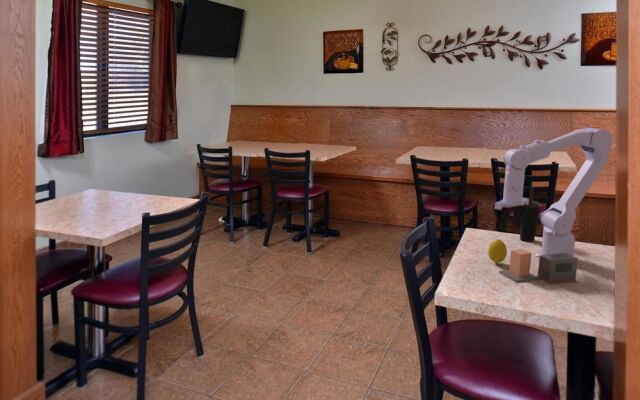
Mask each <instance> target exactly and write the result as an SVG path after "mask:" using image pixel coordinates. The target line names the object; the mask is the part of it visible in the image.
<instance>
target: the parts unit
mask: <svg viewBox="0 0 640 400" xmlns="http://www.w3.org/2000/svg"><path fill="white" fill-rule="evenodd" d="M538 258H539V259H538V260H539V261H538V269H537V275H536V276H537V277H539V280H540V281H542V282H544V283H546V284H547V285H556V284H558V285H559V284H565V283H566V284H567V283H574V282H577V281H578V279H577V271H578V270H577V269H578V261H579V258H578V257H577V256H576V257H575V256H574V255H573V256H572V255H569V254H567V253H560V254H549V255H540V257H538Z"/></svg>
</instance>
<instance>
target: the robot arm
mask: <svg viewBox="0 0 640 400" xmlns="http://www.w3.org/2000/svg"><path fill="white" fill-rule="evenodd" d="M575 145H578V146H579V147H580V148H581V150H582V151H583V153H584V155H585V161H584V162H583V164H582V166H581V167H580V169H579V170H578V171H577V173H576V175H575V176H574V178H573V179H572V181H571V182H570V184H569V185H568V187H567V188H566V189H565V192H564V193H563V194H562V196H561V197H560V199H559V200H558V201H557V202H554V203H552V204H551V205H550V207H549V208H548V209H546V210H545V211H543V212H542V213H541V216H540V223H541V225H542V226H543V231H542V242H541V252H540V253H535V254H534V256H536V257H538V258H540V255H549V254H560V253H567V254H569V255H572V256H574V253H575V245H576V244H575V243H576V239H575V236H574V234H573V233H572V232H571V231H572V230H573V227H574V223H575V220H576V219H577V213H576V209H577V207H579V205H580V203H581V202H582V200H583V199H584V197H585V195H586V194H587V193H588V191H589V189H590V188H591V187H592V185H593V184H594V182H595V181H596V179H597V178H598V177H599V175H600V173H601V172H602V170H603V169H604V167H605V166H606V165H607V163H608V160H609V155H610V149H611V147H612V146H613V145H614V140H613V137H612V134H611V132H610V131H609V130H607V129H605V128H594V127H589V126H584V127H583V128H579V129H578V128H577V129H575V130H573V131H570V132H568V133H566V134H564V135H561V136H559V137H556V138H553V139H551V140H549V141H545V140H543V139H541V140H540V139H536V140H535V139H534V140H533V143H530V144H526V145H520V146H519V148H518V149H517V148H511V149H509V150H507V152H506V153H505V155H504V156H503V157H502V158H503V159H502V160H503V163H504V164H505V173H504V174H505V175H504V184H503V198H502V199H501V200H499V201H496V202H494V207H493V210H492V211H493V213H494V215H495V217H496V221H497V225H498V230H499V231H503V232H504V231H505V232H506V229H507V227H508V222H509V218H510V215H511V213H513V220H512V222H513V227H516V228H519V229H520V227H521V224H522V222H523V219H524V217H525V215H526V213H527V212H528V210H529V209H530V206H526V205H528V202H529V200H530V198H526V197H523V195H524V184H525V174H526V173H525V172H526V168H527V167H528V166H529V164H532V163H535V162H538V161H540V160H543V159H547V158H549V157H550V155H551V153H552V152H555V151H558V150H562V149H565V148H568V147H571V146H575ZM508 208H511V209H512V210H509V209H508Z"/></svg>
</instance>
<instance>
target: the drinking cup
mask: <svg viewBox="0 0 640 400" xmlns="http://www.w3.org/2000/svg"><path fill="white" fill-rule="evenodd" d="M533 191H534V186H530V195H529V202H528V205H526V206H530V209H529V210H528V212H527V213H526V215H525V217H524V219H523V222H522V224H521V227H520V228H519V241H522V242H526V243H532V242H535V237H536V233H537V227H538V223H539V218H540V212H541V208H542V206H543V205H542V204H541V203H539V202H538V201H535V200H533Z"/></svg>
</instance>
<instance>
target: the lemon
mask: <svg viewBox="0 0 640 400" xmlns="http://www.w3.org/2000/svg"><path fill="white" fill-rule="evenodd" d="M507 249H508V248H507V246H506V244H505V242H504V241H503V240H501V239H496V240H493V241H492V242H491V243H490V244H489V246H488V251H487V253H488V254H487V255H488V257H489V259H490V260H491V261H492V262H494V264H499V263H501V262H503V261H504V260H505V259H506V257H507V253H508V250H507Z"/></svg>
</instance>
